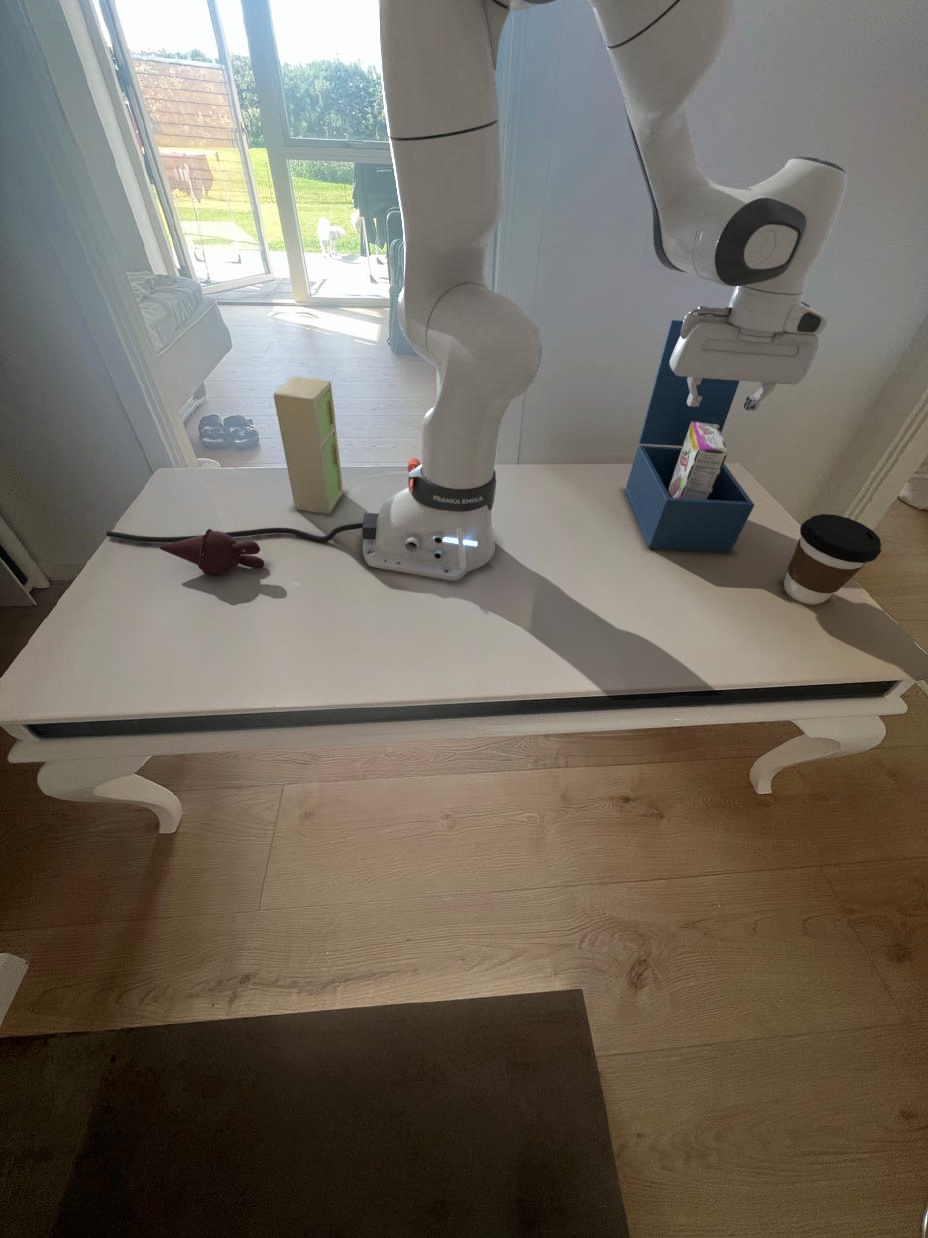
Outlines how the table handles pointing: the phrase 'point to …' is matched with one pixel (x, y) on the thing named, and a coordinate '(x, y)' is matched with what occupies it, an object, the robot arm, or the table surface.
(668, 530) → the cool box
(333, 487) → the toy refrigerator
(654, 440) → the lid
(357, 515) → the table surface
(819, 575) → the coffee cup
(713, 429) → the candy bar box
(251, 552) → the icecream
